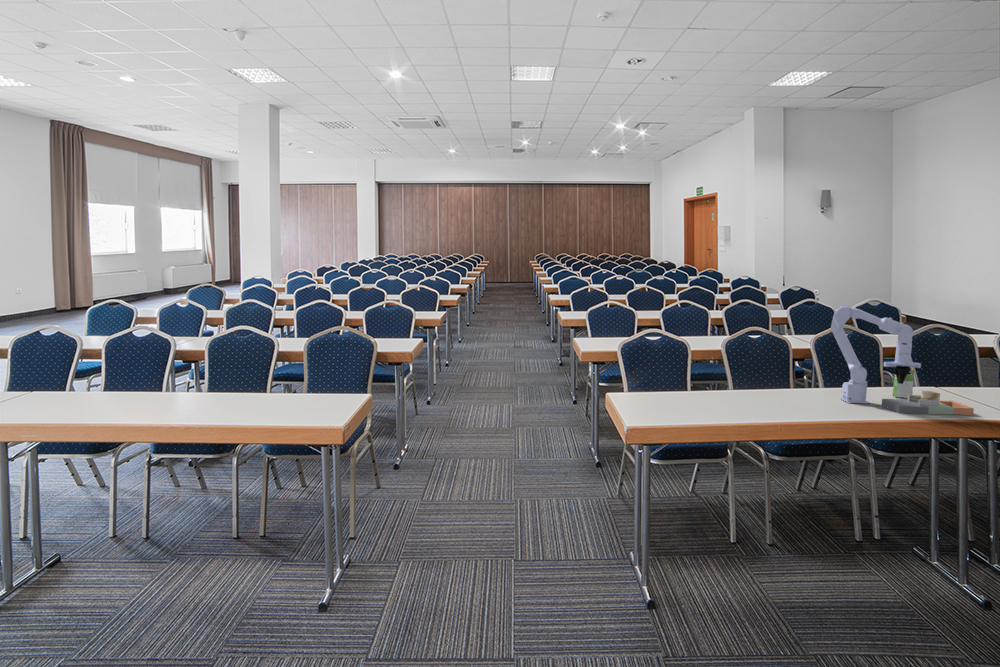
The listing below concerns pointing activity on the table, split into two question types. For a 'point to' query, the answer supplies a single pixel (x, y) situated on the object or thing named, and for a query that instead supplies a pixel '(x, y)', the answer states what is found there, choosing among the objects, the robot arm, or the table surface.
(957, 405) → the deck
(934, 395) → the maple block
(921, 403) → the corridor walls
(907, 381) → the ink box
